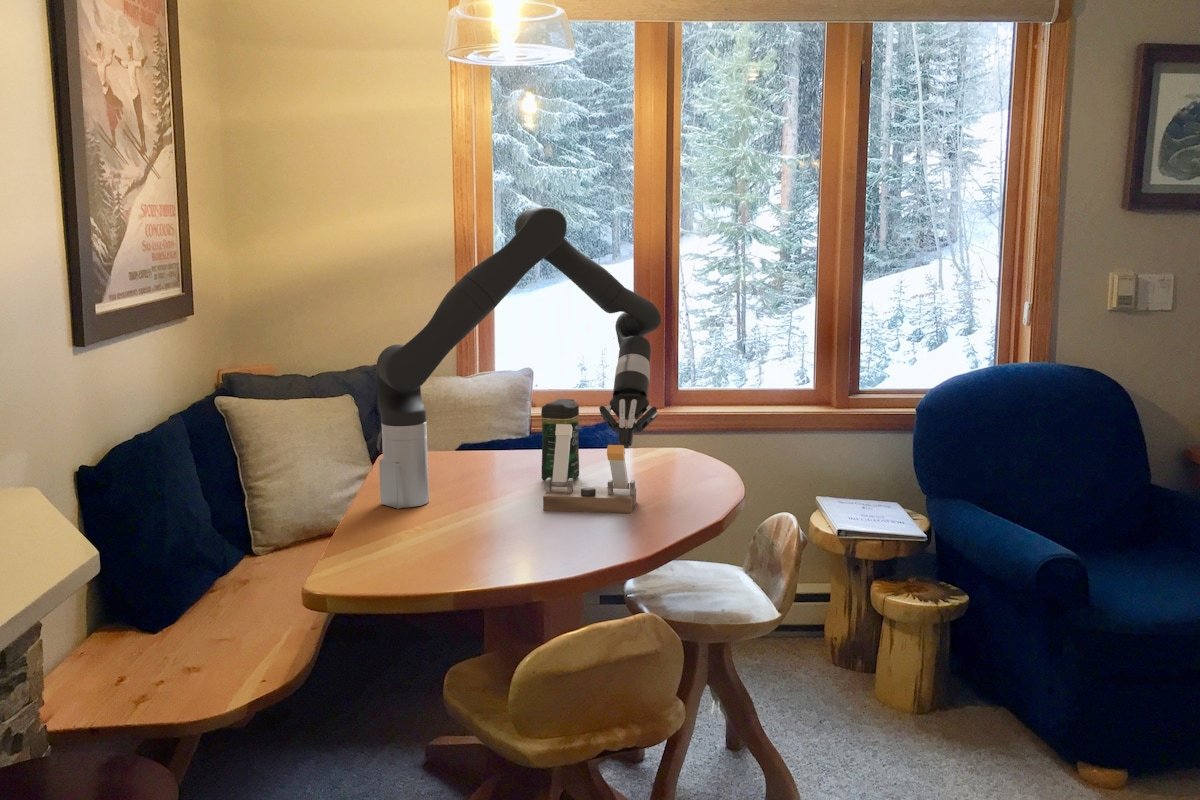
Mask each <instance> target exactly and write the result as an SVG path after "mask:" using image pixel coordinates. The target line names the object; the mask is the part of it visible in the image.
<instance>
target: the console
mask: <svg viewBox="0 0 1200 800" xmlns="http://www.w3.org/2000/svg"><path fill="white" fill-rule="evenodd" d="M544 483H545V484H544V486H545V487H544V488H545V490H544V491H545V494H543V496H542V497H543V498H542V502H543V503H542V504H543V507H542V508H543V511H548V510H551V511H552V512H553V511H554V512H559V511H560V512H578V511H584V512H585V513H608V512H610V513H614V514H617V513H618V514H632V511H633V509H634V507H635V505H636V503H637V488H636V480H635V479H631V480H630V482H629V489H613V479H611V478H610V479H608V481H607V486H584V485H583V486H582V485H580V486H578V485H577V486H576V485H574V480H573V478H569V479H568V481H567V487H552V486H551V478H547V479H546V480H545V481H544ZM551 511H550V512H551ZM584 512H583V513H584ZM610 513H609V514H610Z"/></svg>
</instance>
